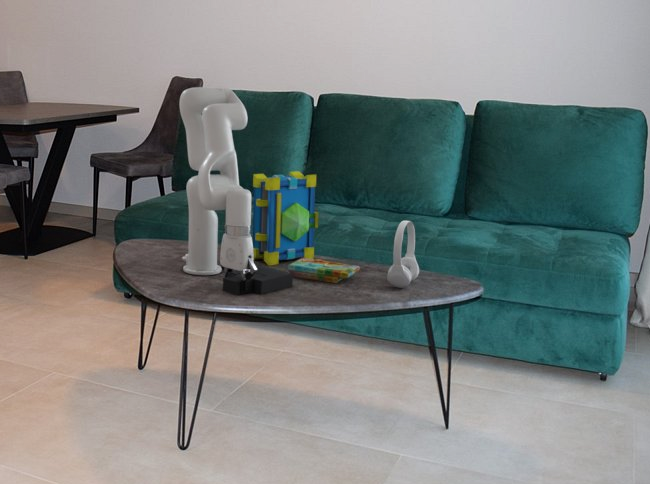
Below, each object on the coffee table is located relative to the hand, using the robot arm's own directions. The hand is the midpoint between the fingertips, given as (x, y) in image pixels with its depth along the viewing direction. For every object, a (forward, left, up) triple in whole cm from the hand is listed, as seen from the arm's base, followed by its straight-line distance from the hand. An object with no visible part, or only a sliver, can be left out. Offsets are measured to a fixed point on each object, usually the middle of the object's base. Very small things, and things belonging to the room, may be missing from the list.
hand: (236, 289), depth 244 cm
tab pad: (0, +3, -1) cm, 3 cm away
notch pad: (0, +10, 0) cm, 10 cm away
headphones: (+27, +46, -1) cm, 54 cm away
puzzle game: (+6, +33, -1) cm, 34 cm away
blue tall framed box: (-19, +41, -1) cm, 46 cm away
